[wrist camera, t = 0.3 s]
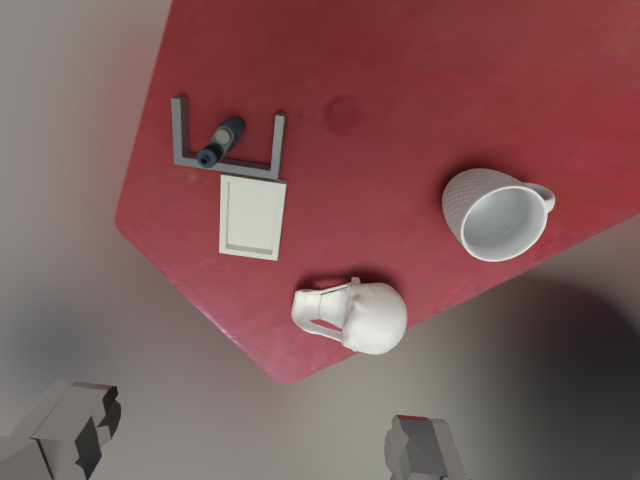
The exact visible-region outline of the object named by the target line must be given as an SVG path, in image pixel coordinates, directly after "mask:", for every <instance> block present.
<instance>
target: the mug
mask: <svg viewBox="0 0 640 480" xmlns="http://www.w3.org/2000/svg"><path fill="white" fill-rule="evenodd" d="M554 204H555V196H554V194H553V193H552V192H551V191H550V190H549V189H547V188H545V187H543V186H540V185H537V184H533V183H522V182H521V181H519V180H517V179H516V178H513V177H511V176H510V175H507V174H505V173H501V172H500V171H495V170H490V169H483V168H480V169H478V168H476V169H470V170H466V171H464V172H461V173H460V174H458V175H456V176H455V177H454V178H452V179H451V180H450V182H449V183H448V184H447V186H446V187H445V190H444V192H443V195H442V207H443V208H442V209H443V214H444V216H445V219H446V222H447V224H448V225H449V228H450V229H451V231H452V232H453V233H454V235H455V236H456V237H457V239H458V241H460V243H461V244H462V245H463V246H464V248H465V249H466V250H467V251H468V252H469V253H470V254H471V255H472V256H474V257H476V258H478V259H480V260H484V261H503V260H507V259H511V258H513V257H516V256H518V255H520V254H521V253H523V252H525V251H526V250H527V249H529V248H530V247H531V246H532V245H533V244H534V243H535V242H536V241H537V240H538V238H539V237H540V235H541V234H542V232H543V230H544V228H545V225H546V222H547V213H548V212H550V211H551V210H552V209H553V207H554Z"/></svg>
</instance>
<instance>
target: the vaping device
mask: <svg viewBox="0 0 640 480" xmlns="http://www.w3.org/2000/svg"><path fill="white" fill-rule="evenodd" d="M244 129H245V127H244V123H243V122H242V120H240V119H239V118H237V117H231V118H229V119H228V120H226V121H225V122H223V123H221V124H220V125H219V127H218V128H217V129H216V131H215V133H214V135H213V136H212V138H211V140H210V142H209V144H208V145H207V146H206V147H205V148H203V149H202V150H201V151H199V152H198V154H197V161H198V163H199V164H200V165H201V166H202V167H204V168H212V167H213V166H214V165H215V164H216V163H217V162H218V161H219V160H221V159H222V158H223V157H224V156H225V155H226V154H227V153H228V152H230V150H231V149H232V148H233V147H234V145H235V144H236V142H237V140H238V139H239V137H240V135H241V134H242V132H243V131H244Z"/></svg>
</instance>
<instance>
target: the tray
mask: <svg viewBox="0 0 640 480" xmlns="http://www.w3.org/2000/svg"><path fill="white" fill-rule="evenodd" d="M286 187H287V180H284V179H278V180H275V179H269V178H262V177H255V176H249V175H242V174H236V173H229V172H223V173H222V174H221V201H220V248H219V253H224V254H232V255H239V256H247V257H254V258H261V259H269V260H276V261H277V260H278V255H279V247H280V239H281V230H282V221H283V213H284V204H285V196H286Z"/></svg>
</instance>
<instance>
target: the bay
mask: <svg viewBox="0 0 640 480" xmlns="http://www.w3.org/2000/svg"><path fill="white" fill-rule="evenodd" d="M171 104H172V126H173V148H174V164H177V165H183V166H190V167H196V168H203V169H209V170H216V171H223V172H229V173H236V174H242V175H249V176H255V177H262V178H269V179H275V180H278V178H279V175H280V167H281V158H282V148H283V139H284V129H285V120H286V114H285V113H279V112H278V113H277V114H276V116H275V127H274V138H273V149H272V160H271V165H266V164H260V163H253V162H247V161H240V160H234V159H228V158H222V159H221V160H219V161H218V162H217V163H216V164H215V165H214V166H213V167H212V168H204V167H202V166H201V165H200V164H199V163H198V161H197V154H195V153H189V123H188V97H183V96H177V97H173V98H171Z"/></svg>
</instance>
